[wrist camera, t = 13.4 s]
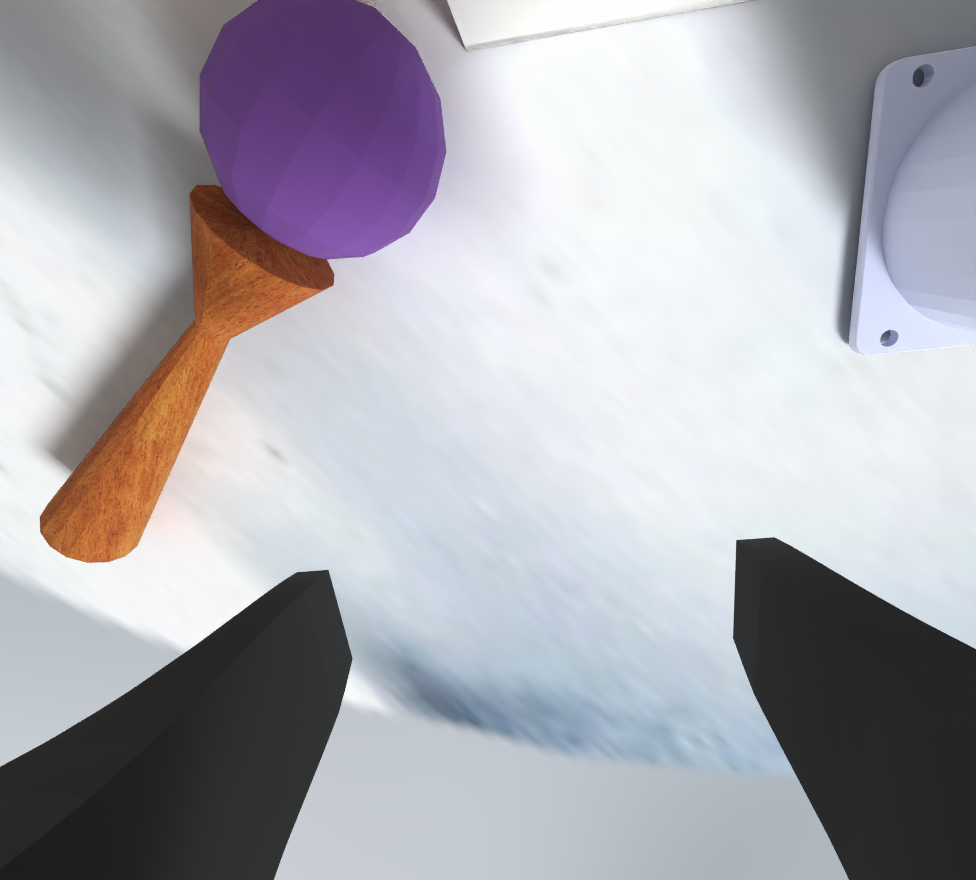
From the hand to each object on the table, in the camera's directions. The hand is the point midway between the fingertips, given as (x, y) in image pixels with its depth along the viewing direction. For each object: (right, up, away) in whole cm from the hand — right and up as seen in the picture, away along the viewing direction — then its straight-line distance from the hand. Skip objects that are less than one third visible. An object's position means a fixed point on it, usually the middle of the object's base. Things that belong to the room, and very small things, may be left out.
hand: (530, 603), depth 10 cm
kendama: (-9, +7, +10) cm, 15 cm away
